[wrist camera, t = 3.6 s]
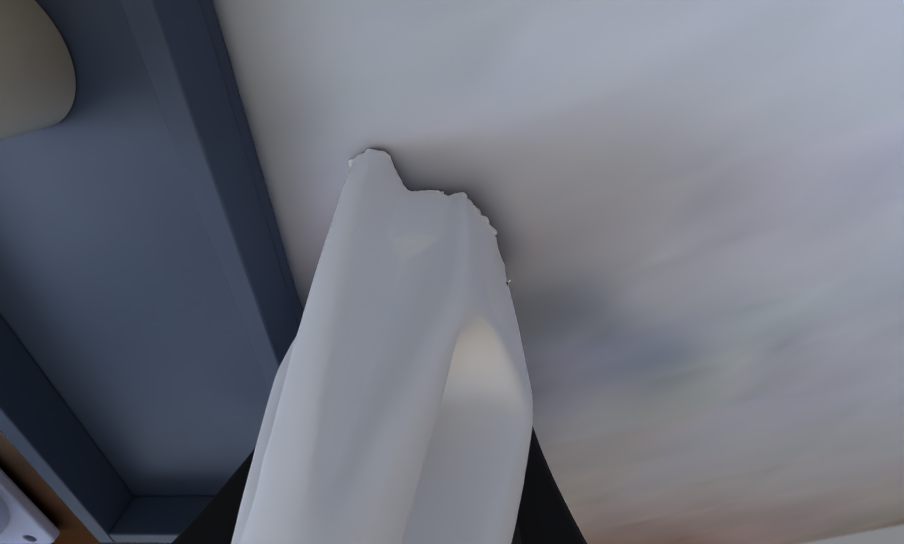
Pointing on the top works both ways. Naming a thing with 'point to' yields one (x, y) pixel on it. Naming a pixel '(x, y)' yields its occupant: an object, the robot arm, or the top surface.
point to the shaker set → (396, 382)
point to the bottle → (32, 70)
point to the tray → (140, 274)
